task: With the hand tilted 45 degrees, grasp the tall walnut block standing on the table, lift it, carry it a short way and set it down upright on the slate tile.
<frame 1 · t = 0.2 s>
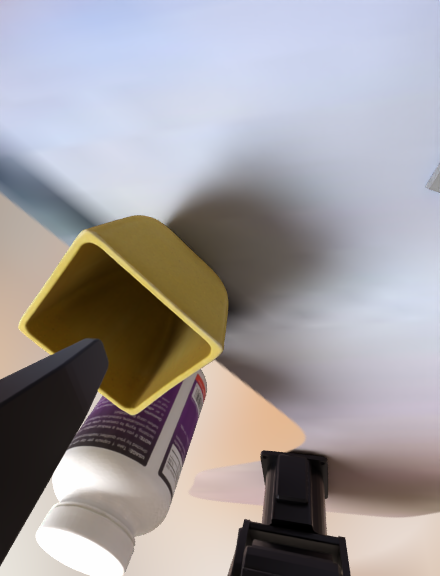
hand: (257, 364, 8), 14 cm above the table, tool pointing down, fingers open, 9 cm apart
flower pot: (172, 266, 24), on the table
pill bottle: (170, 372, 30), on the table
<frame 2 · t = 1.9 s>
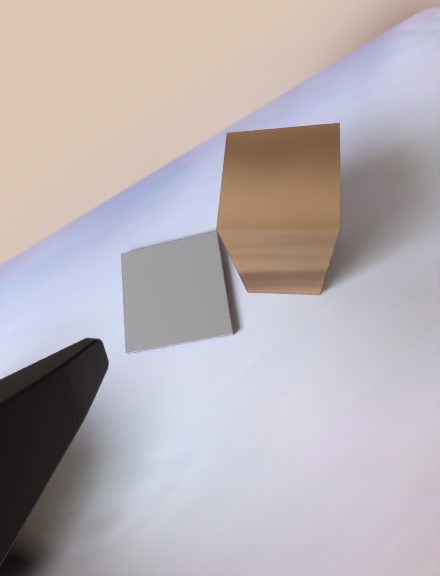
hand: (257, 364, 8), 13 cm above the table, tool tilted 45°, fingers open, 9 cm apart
slate tile: (175, 292, 24), on the table
walnut block: (284, 260, 23), on the table
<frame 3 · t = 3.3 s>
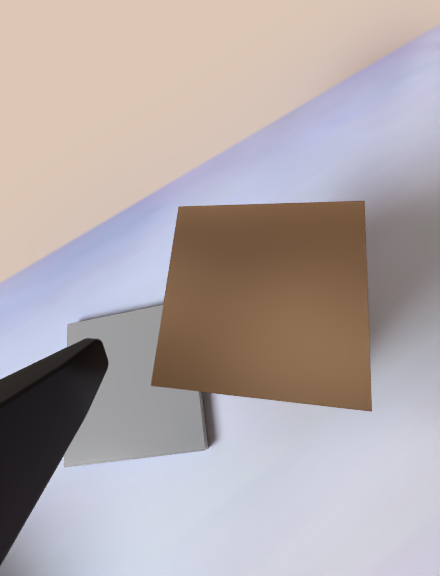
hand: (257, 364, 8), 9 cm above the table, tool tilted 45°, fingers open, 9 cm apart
slate tile: (133, 380, 18), on the table
walnut block: (277, 344, 17), on the table
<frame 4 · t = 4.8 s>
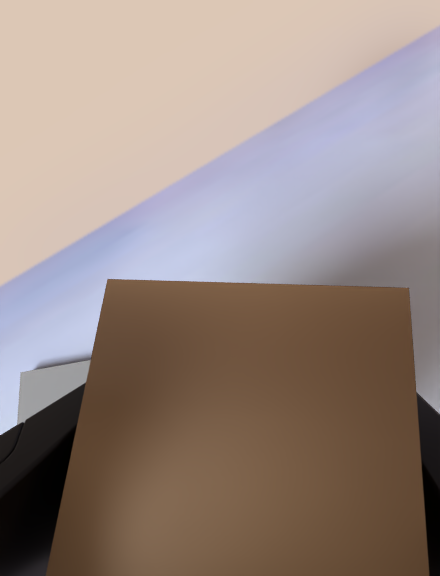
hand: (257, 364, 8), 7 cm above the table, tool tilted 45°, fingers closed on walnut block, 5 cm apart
slate tile: (97, 445, 15), on the table
walnut block: (271, 405, 14), on the table, touching gripper
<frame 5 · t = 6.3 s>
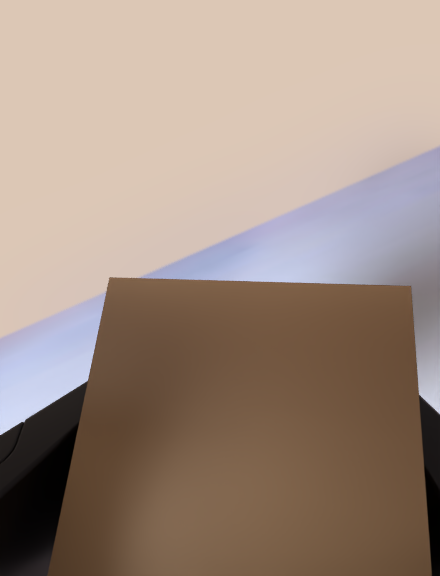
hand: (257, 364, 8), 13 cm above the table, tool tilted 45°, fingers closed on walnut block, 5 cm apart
walnut block: (271, 405, 14), point 7 cm above the table, touching gripper
when the fingers open (8 cm above the table, at t = 7.9 s): walnut block drops 1 cm, resting on slate tile.
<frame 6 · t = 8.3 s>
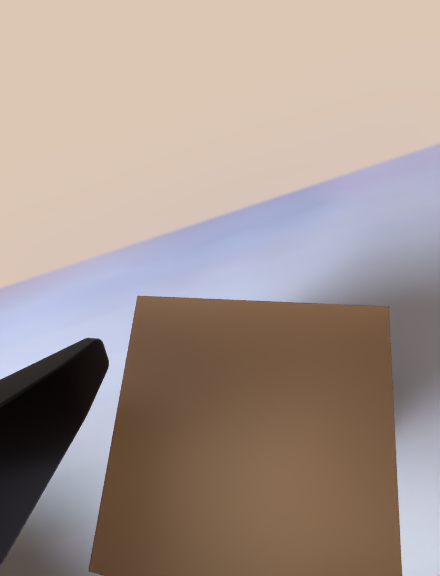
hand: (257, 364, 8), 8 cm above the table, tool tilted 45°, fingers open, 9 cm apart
walnut block: (273, 404, 15), point 1 cm above the table, touching slate tile
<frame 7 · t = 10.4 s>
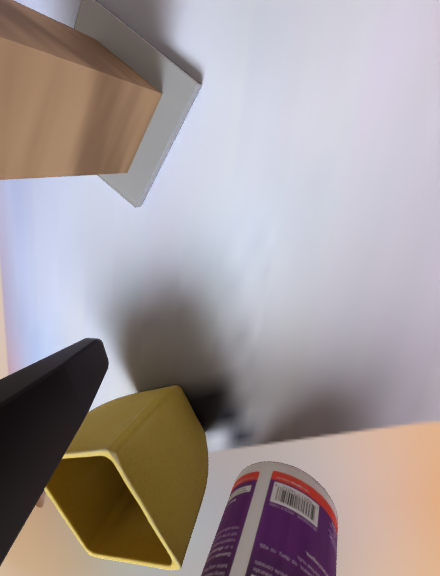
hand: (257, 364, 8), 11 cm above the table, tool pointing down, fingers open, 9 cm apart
slate tile: (118, 111, 19), on the table
walnut block: (112, 110, 18), point 1 cm above the table, touching slate tile
flower pot: (171, 409, 27), on the table
pill bottle: (286, 490, 25), on the table
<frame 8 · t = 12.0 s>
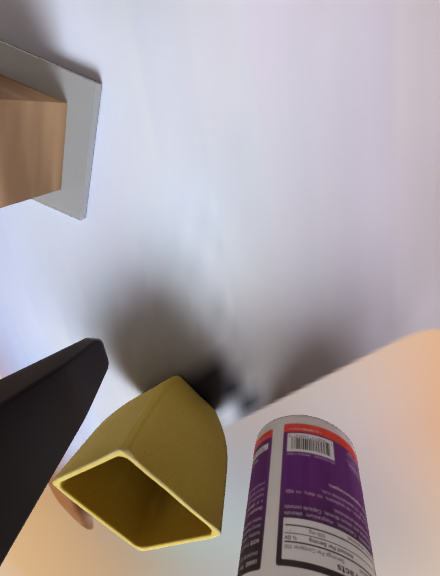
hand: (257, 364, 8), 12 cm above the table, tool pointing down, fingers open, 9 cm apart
slate tile: (33, 132, 19), on the table
walnut block: (25, 132, 18), point 1 cm above the table, touching slate tile
flower pot: (178, 399, 28), on the table
pill bottle: (304, 439, 27), on the table
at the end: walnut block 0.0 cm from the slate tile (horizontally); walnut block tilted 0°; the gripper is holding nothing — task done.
